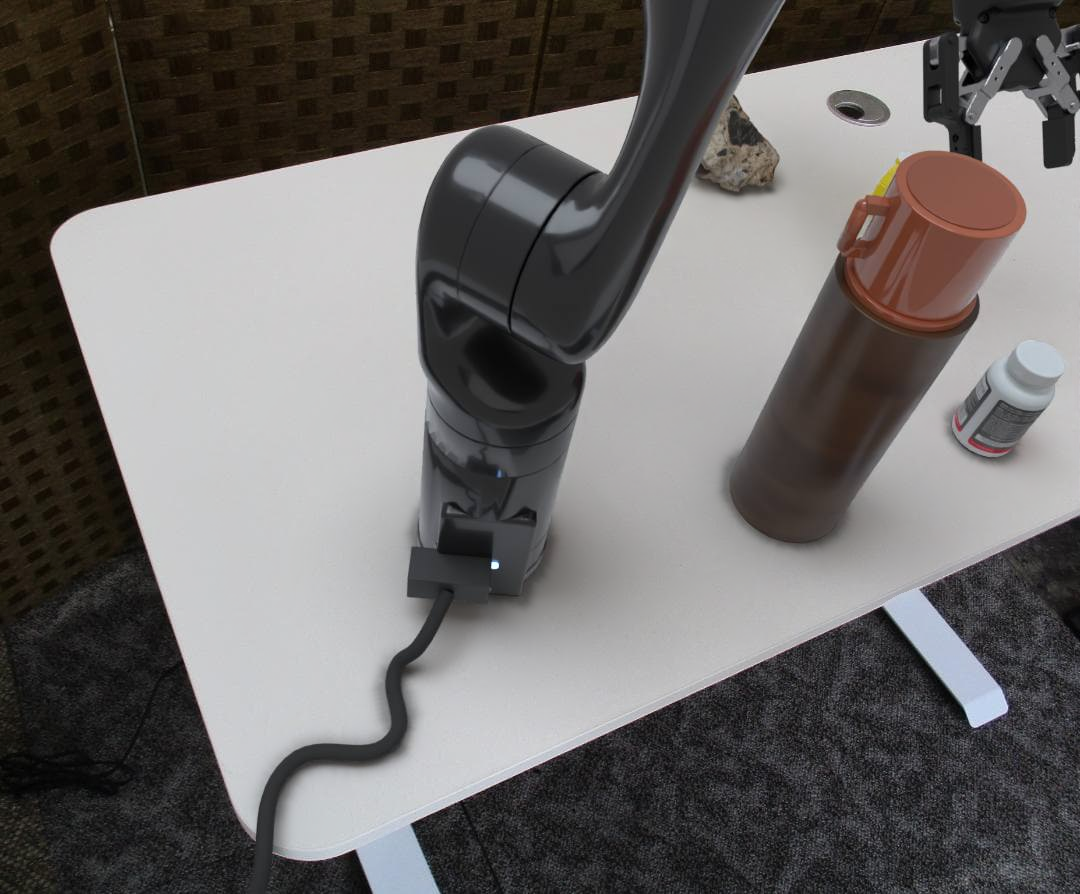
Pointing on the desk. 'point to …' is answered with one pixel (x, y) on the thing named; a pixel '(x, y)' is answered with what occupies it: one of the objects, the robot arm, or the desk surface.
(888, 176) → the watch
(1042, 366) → the pill bottle
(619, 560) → the desk surface
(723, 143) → the rock
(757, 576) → the desk surface
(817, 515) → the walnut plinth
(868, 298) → the upturned cup
